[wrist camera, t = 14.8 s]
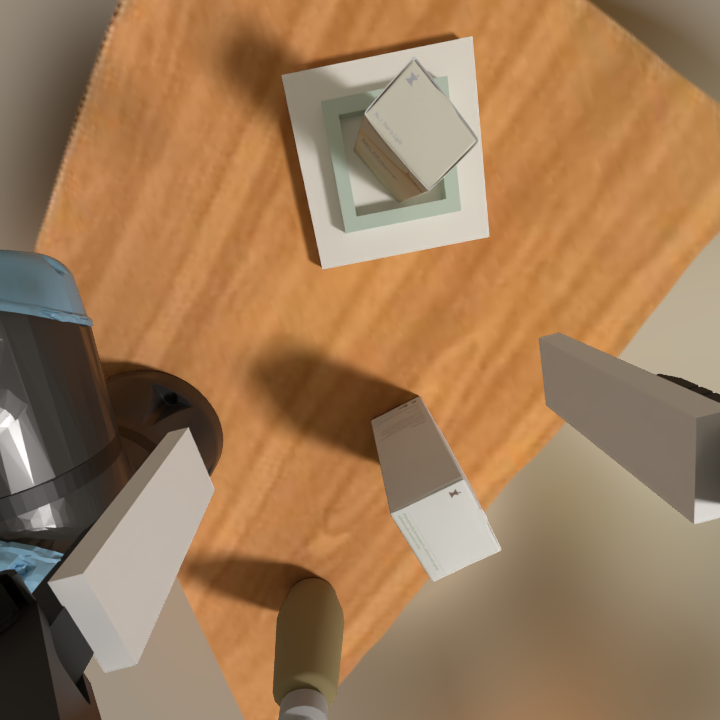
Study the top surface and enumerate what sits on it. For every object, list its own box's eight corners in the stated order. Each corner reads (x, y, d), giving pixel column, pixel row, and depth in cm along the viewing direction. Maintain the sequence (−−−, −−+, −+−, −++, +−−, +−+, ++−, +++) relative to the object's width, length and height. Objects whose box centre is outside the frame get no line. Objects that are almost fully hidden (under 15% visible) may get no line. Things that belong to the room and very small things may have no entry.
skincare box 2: (369, 418, 45) (383, 511, 30) (423, 392, 44) (464, 473, 29) (402, 475, 47) (430, 587, 33) (453, 451, 47) (506, 553, 32)
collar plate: (323, 268, 40) (321, 270, 37) (283, 81, 35) (278, 68, 32) (483, 236, 40) (495, 237, 37) (467, 44, 35) (478, 27, 32)
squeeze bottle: (315, 558, 50) (302, 726, 33) (356, 595, 53) (364, 772, 35) (267, 592, 52) (231, 771, 35) (310, 628, 54) (295, 812, 37)
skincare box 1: (352, 150, 35) (357, 111, 24) (389, 110, 35) (413, 50, 23) (400, 205, 37) (427, 194, 25) (437, 168, 36) (482, 139, 25)
